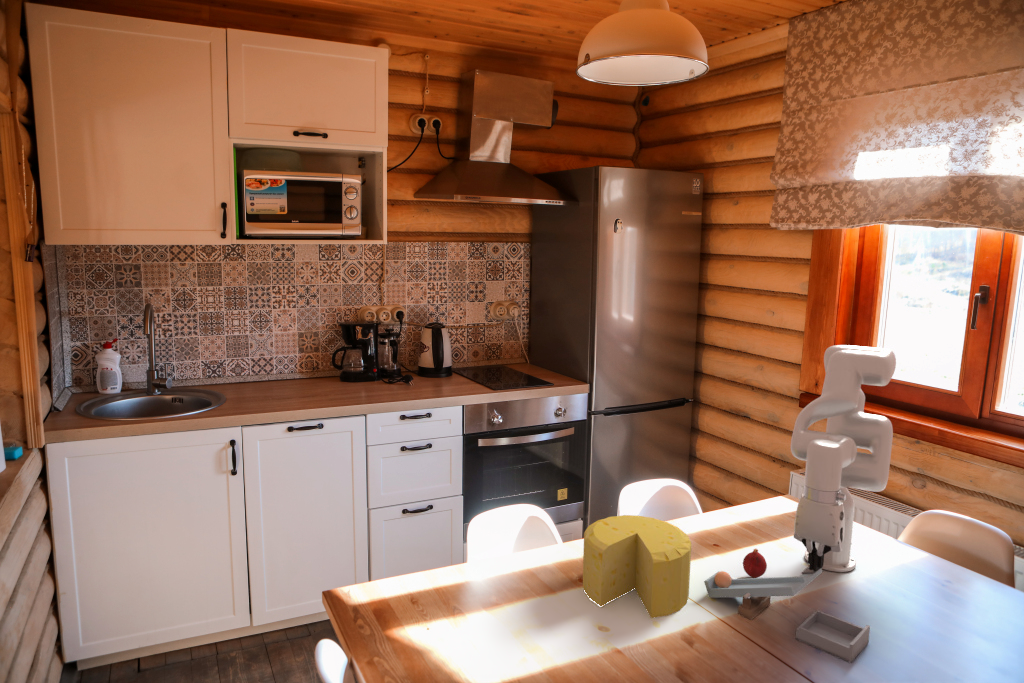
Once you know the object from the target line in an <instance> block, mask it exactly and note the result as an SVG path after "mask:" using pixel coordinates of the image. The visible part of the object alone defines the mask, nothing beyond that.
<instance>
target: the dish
mask: <svg viewBox="0 0 1024 683" xmlns="http://www.w3.org/2000/svg"><path fill="white" fill-rule="evenodd" d="M870 629H871V625H868V624H866V625H865V627H862V626H860V625H856V624H855V623H853V622H850V621H847V620H844V619H842V618H839V617H837V616H834V615H831V614H829V613H826V612H824V611H821V610H817V611H814V612H812V614H811V615H810V616H808V617H807V618H806V619H805V620H804V621H803V622H802V623H801V624H800V625H799V626H797V627H796V630H795V640H796V641H799V642H801V643H804V644H805V645H808V646H810V647H813V648H815V649H818V650H820V651H822V652H824V653H826V654H829V655H832V656H834V657H836V658H839V659H841V660H843V661H845V662H848V663H850V664H852V663H853V662H854V661H855V659H856V658H857V657H858V656H859V654H860V653H861V652H863V650H864V649H865V647H867V645H868V644H869V641H870Z"/></svg>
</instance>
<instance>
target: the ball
mask: <svg viewBox="0 0 1024 683" xmlns="http://www.w3.org/2000/svg"><path fill="white" fill-rule="evenodd" d="M717 572H718V573H717ZM717 572H716V573H717V574H716V573H715V574H716V575H715V583H716V585H717V586H718V587H720V588H728V587H729V586H730V585H731V582H732V580H731V579H732V577H731V575H730V574H729V573H728V572H726V571H723V570H721V571H717Z"/></svg>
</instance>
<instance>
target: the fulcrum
mask: <svg viewBox="0 0 1024 683" xmlns="http://www.w3.org/2000/svg"><path fill="white" fill-rule="evenodd" d="M771 598H772V597H749V598H747V599H745V598H744V597H742V601H741V602H742V603H741V604H740V605H738V606H737V607H738V608H737V615H738V616H741V617H743V618H745V619H748V620H750V621H751V620H753V619H754V618H755V617H757V615H759V614H760V613H761V612H762V611H764V610H765V609H766V608H767V607H769V606H770V605H771V601H772V600H771Z"/></svg>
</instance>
